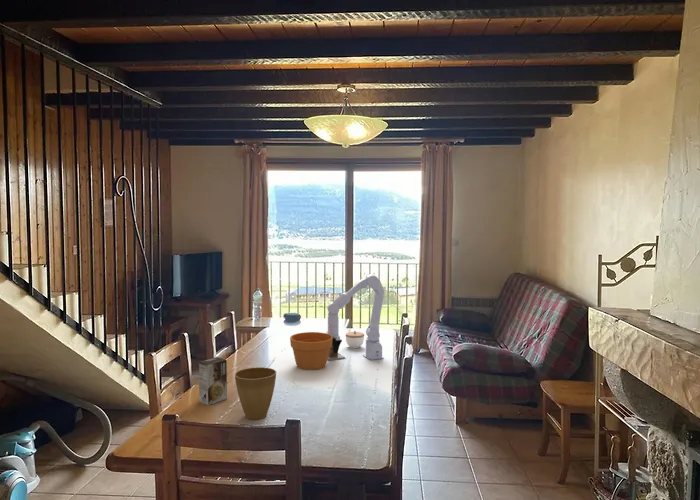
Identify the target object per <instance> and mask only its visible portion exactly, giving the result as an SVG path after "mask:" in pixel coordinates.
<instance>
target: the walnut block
mask: <svg viewBox="0 0 700 500" xmlns="http://www.w3.org/2000/svg"><path fill="white" fill-rule="evenodd" d="M338 353H339V352H338ZM338 353H334V352H333V346H331V347H330V350H329V355H328V356H330V357H337V356H338Z"/></svg>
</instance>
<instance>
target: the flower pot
mask: <svg viewBox="0 0 700 500" xmlns="http://www.w3.org/2000/svg"><path fill="white" fill-rule="evenodd" d="M332 340H333V337H332V335H330V334H326V332H319V331H307V332H298V333H295V334H294V333H293V334H292V335H291V336H290V337H289V341H290V342H289V343H290V347H291V348H292V351H293V355H294V361H295V364H296V367H297V368H299V369H301V370H306V371H315V370H317V371H318V370H322V369H323V368H325V367H326V366H327V363H328V362H327V359H328V355H329V350H330V347H331V346H332Z"/></svg>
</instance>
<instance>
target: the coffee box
mask: <svg viewBox="0 0 700 500" xmlns="http://www.w3.org/2000/svg"><path fill="white" fill-rule="evenodd" d="M227 363H228V362H227V359H224V358H222V357H220V356H216V357H213V358H208V359H204V360H200V361H198V402H199V403H202V404H204V405H206V406H210V405H213V404H216V403H219V402H221V401H225V400H227V399H228V372H227V370H228V368H227V367H228V366H227Z"/></svg>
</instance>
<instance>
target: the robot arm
mask: <svg viewBox="0 0 700 500" xmlns="http://www.w3.org/2000/svg"><path fill="white" fill-rule="evenodd" d="M368 287H370V288H371V289H372V291H373V292H374V297H373V301H372V308H371V315H370V321H369V323H368V326H367V328H366V330H365V334H366V336H367V338H366V339H365V353H364V354H362V356H363V357H364V358H367V359H368V360H371V361H372V360H378V359H379V360H380V359H381V360H382V359H384V357H383V346H382V344H381V342H380V321H381V320H380V319H381V315H382V314H381V313H382V307H383V301H384V296H385V289H384V286H383V284H382V281H381V280H380V279H379V278H378V276H376V275H375V274H373V273H368V274H367V275H366V276H364V277H362V278H361V279H359V280H358V281H357V282H356V283H355V285H353V286H352V287H351V288H350V289H349V290H348V291H347V292H342V293H339V294H338V296H337V297H336V298H335V300H333V299H332V302H331V303H329V304H328V306H327V308H326V309H327V312H328V313H327V330H326V332H325V333H326V334H330V335H332V337H333V340H332V346H333V352H334V353H339V350H340V346H341V344H342V342H343V341H342V340H343V339H341V336H340V333H339V328H340V327H339V313H340V310H341V309H342V308H344V307H345V306H346V305H347V304H349V303H350V302H351V298H352V297H353V296H354V295H355V294H357V293H359V291H361V290H362V289H367V288H368Z"/></svg>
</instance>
